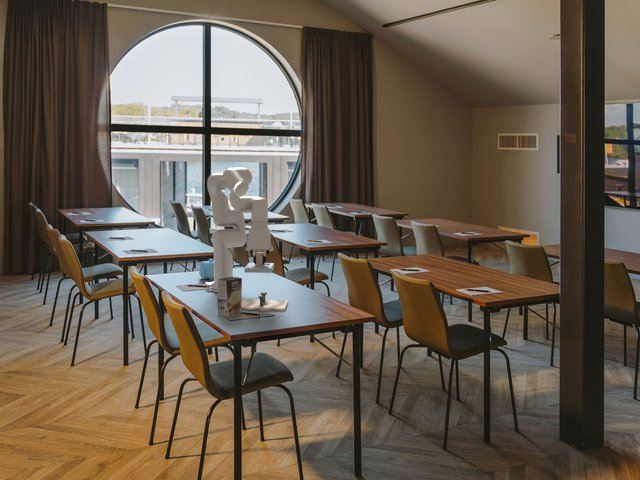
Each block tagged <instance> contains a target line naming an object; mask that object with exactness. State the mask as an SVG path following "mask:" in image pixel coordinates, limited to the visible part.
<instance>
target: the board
mask: <svg viewBox="0 0 640 480" xmlns="http://www.w3.org/2000/svg"><path fill="white" fill-rule="evenodd" d="M267 295H268V293H267V292H260V295H258V297H257V298H258V299H242V310H257V311H256V312H285V311H286V309H287V308H288V307H287V306H288V303H289V300H288V299H287V300H283V299H282V300H279V299H277V300H276V299H275V300H274V299H270V300H269V299H266V296H267Z"/></svg>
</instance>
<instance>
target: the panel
mask: <svg viewBox="0 0 640 480" xmlns="http://www.w3.org/2000/svg"><path fill="white" fill-rule="evenodd" d="M274 268H275V262H266V263H265V264H264V265H263V251H262V252H261V251H260V252H258V251H256V265H255V263H253V262H248V263H247V264H246V266H245V267H244V273H246V274H247V273H250V274H251V273H253V274H254V273H259V274H260V273H261V274H262V273H264V274H265V273H266V274H267V273H268V274H271V273H272V272H273V270H274Z"/></svg>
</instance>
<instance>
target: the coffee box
mask: <svg viewBox="0 0 640 480" xmlns="http://www.w3.org/2000/svg"><path fill="white" fill-rule="evenodd" d="M242 280H243V278H242V277H237V276H233V277H227V278H221V279H218V292H217V315H218V316H221V317H227V318H229V317H228V316H230V317H233V316H232V315H234V316H236V315H235V314H238V315H240V314H239V313H241V314H243V313H242V300H243V297H242V296H243V292H242V291H243V281H242Z"/></svg>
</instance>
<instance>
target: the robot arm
mask: <svg viewBox="0 0 640 480" xmlns="http://www.w3.org/2000/svg"><path fill="white" fill-rule="evenodd" d="M252 182H253V174H252V172H251V170H250V169H249V168H246V167H230V168H227V169H225V170H224V171H223V172H221V173H220V172H219V173H218V172H217V173H213V174H210V175H209V176H208V177H207V182H206V185H207V192H208V194H209V197H210V201H211V212H212V220H213V224H214V225H215V226H216V227H221V229H217V230H215V231H213V232H212V235H211V240H212V241H211V242H212V247H213V261H214V280H213V281H212V282H211V281H209V282H208V281H206V282H205V287H210V291H211V292H212V293H213V292H214V293H218V279H221V278H227V277H234V275H233V274H234V271H233V270H234V269H233V268H234V266H233V265H234V262H233V261H234V259H233V257H234V256H233V254H232V252H231V251H230V249H229V248H240V247H241V248H242V247H244V245H245V244H246V242H247V240H248V242H247V243H248V244H247V245H246V247H245V251H247V252H249V253H250V254H251V256H252V259H253V262H252V263H255V265H256V253H257V251H262V252H263V265H264V264H265V263H267V255H269V254H270V253H271V252H273V251H275V250H274V247H273V245H272V243H271V242H272V239H271V232H270V227H268V226H269V220H268V219H269V212H268V211H269V208H268V207H269V205H268V204H269V203H268V202H269V201H268V199H267V198H265V197H261V196H244V195H246V194H247V193H248V192H249V189H250V184H251V183H252ZM224 191H230V192H229V198H228V196H227V195H226V193H225V192H224ZM229 205H231V207H230V206H229ZM244 214H251V216H250V217H251V218H250V219H251V221H248V223H247V225H248V226H251V227H249V229H248V239H247V235H246V234H247V233H246V225H245V224H246V223H245V222H246V221H245V215H244ZM223 227H233V228H223Z"/></svg>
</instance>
